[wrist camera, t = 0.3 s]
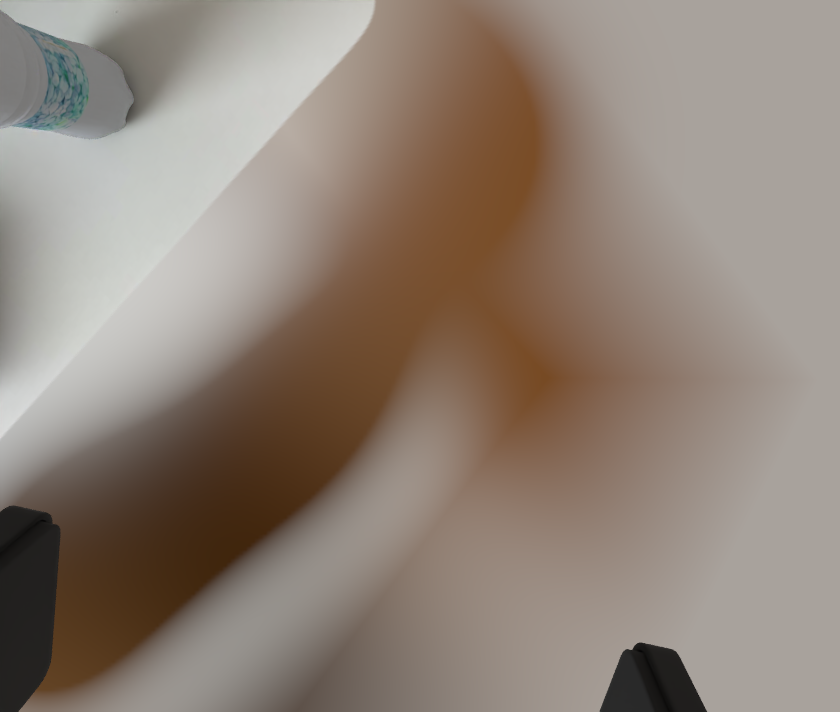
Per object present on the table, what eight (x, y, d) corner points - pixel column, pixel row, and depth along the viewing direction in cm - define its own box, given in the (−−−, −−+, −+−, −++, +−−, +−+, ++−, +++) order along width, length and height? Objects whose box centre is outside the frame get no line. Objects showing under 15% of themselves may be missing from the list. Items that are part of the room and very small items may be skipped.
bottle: (96, 27, 45) (-162, -88, 26) (162, 101, 46) (-38, 44, 27) (38, 92, 47) (-248, 28, 27) (104, 162, 48) (-126, 148, 29)
